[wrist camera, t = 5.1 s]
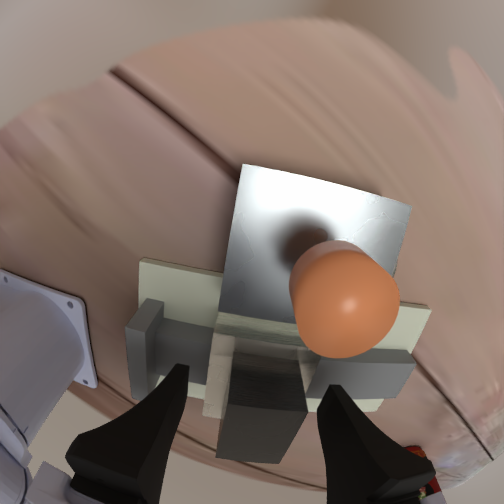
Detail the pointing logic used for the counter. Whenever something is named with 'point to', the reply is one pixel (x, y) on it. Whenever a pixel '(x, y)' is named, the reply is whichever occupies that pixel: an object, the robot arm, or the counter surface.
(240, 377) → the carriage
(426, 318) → the track board
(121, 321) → the counter surface
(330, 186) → the gauge box
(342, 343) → the plunger
